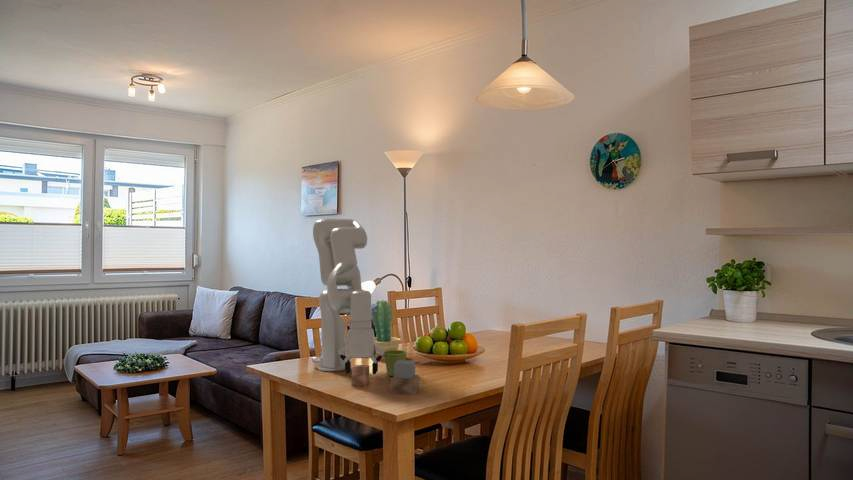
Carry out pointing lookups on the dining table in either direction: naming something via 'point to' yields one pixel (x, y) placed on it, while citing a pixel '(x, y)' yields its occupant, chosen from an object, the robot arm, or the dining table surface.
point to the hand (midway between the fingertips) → (361, 373)
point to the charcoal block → (404, 369)
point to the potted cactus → (383, 327)
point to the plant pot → (393, 359)
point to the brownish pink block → (360, 375)
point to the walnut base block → (405, 385)
